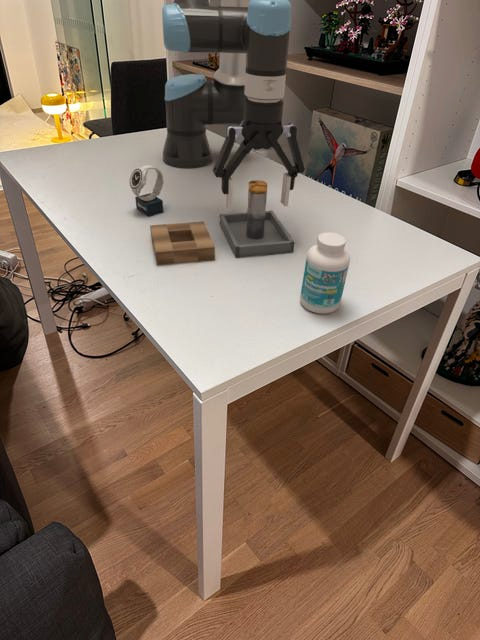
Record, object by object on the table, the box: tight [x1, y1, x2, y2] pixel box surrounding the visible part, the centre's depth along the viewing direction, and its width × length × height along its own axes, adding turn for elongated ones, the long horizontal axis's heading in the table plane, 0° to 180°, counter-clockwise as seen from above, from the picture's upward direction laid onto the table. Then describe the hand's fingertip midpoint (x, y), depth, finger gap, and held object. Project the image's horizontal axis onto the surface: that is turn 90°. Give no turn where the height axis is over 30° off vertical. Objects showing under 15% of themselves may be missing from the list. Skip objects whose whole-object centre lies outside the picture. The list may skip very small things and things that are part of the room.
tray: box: [219, 210, 295, 259], centre depth 104 cm, size 16×13×2 cm
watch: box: [129, 164, 165, 218], centre depth 111 cm, size 6×8×11 cm
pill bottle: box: [299, 232, 351, 315], centre depth 82 cm, size 8×7×14 cm
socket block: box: [149, 220, 216, 266], centre depth 99 cm, size 12×12×3 cm
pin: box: [246, 179, 268, 239], centre depth 101 cm, size 4×4×12 cm
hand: (256, 205), depth 100 cm, fingers open, 12 cm apart
